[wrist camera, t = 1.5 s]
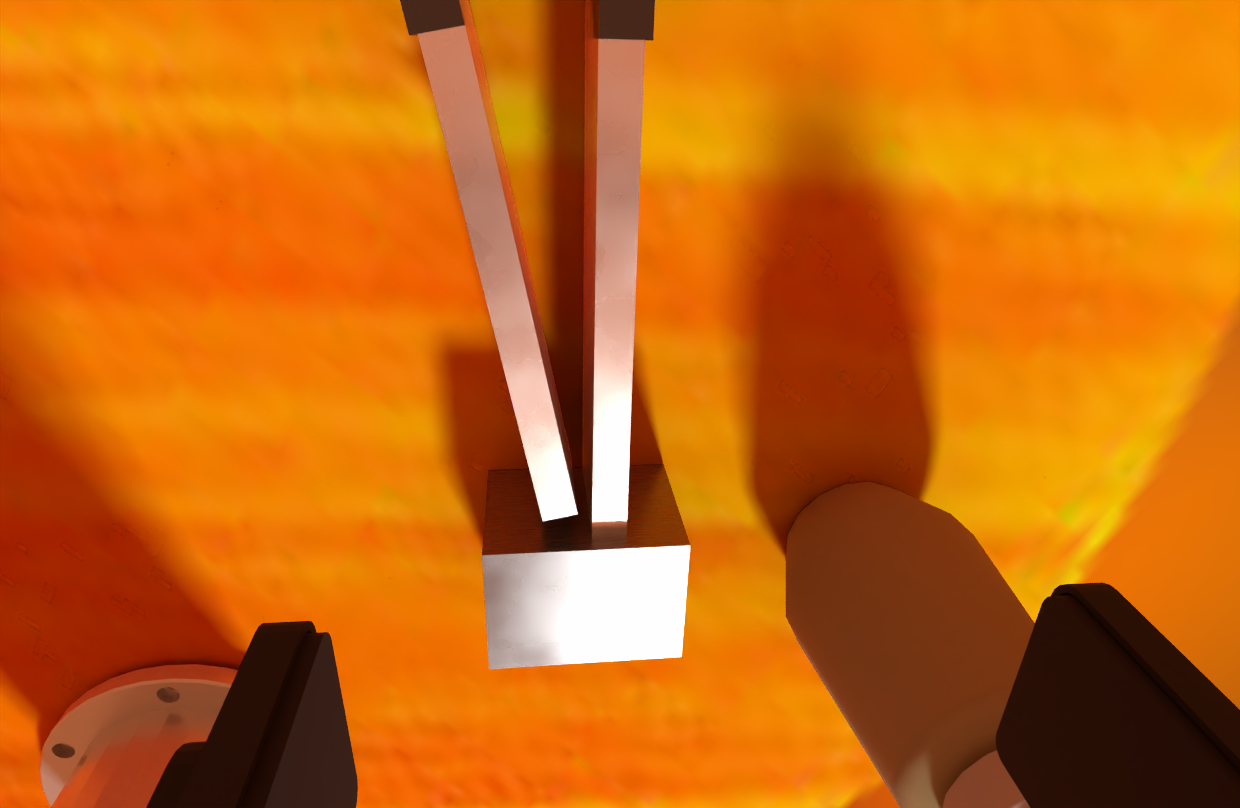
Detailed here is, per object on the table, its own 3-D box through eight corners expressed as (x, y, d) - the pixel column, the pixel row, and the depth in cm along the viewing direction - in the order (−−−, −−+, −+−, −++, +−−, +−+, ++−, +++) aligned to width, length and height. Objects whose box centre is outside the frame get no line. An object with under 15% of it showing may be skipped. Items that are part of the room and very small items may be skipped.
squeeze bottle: (723, 569, 34) (907, 1059, 18) (835, 425, 31) (1170, 844, 15) (860, 630, 36) (1131, 1107, 20) (973, 502, 34) (1388, 931, 18)
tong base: (657, 564, 33) (681, 656, 28) (494, 572, 32) (489, 669, 27) (697, -109, 23) (746, -150, 18) (455, -122, 22) (436, -168, 17)
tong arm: (570, 448, 30) (577, 515, 26) (534, 456, 30) (537, 523, 26) (439, -131, 21) (419, -170, 17) (389, -122, 21) (358, -160, 17)
